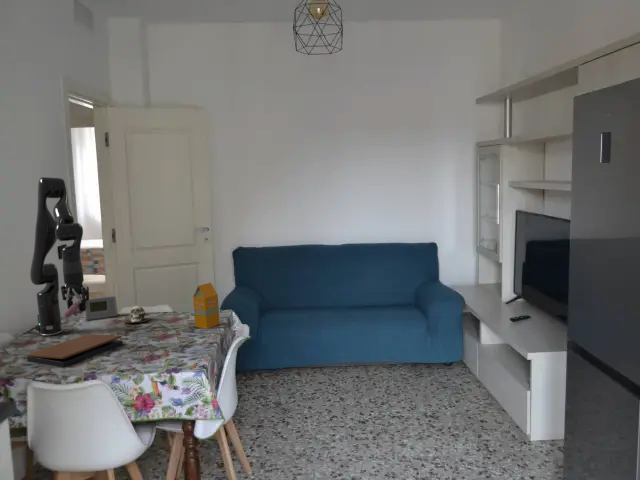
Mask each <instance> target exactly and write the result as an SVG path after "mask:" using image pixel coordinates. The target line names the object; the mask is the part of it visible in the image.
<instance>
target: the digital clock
mask: <svg viewBox="0 0 640 480" xmlns="http://www.w3.org/2000/svg"><path fill="white" fill-rule="evenodd" d="M86 302H87V303H88V306H87V308H86V310H85V311H83V315H84V320H85V321H91V320H92V321H95V320H103V319H110V318H114V317H118V315H119V312H118V304H117V303H118V302H117V296H116V295H106V296H98V297H89V300H88V301H86Z"/></svg>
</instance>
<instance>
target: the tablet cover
mask: <svg viewBox="0 0 640 480" xmlns="http://www.w3.org/2000/svg"><path fill="white" fill-rule="evenodd" d="M122 337H123V335H118V334H117V335H115V334H92V333H91V334H89V333H87V334H84V335H80V336H78V337H75V338H72V339H69V340H66V341H63V342H59V343H56V344H54V345H50V346H48V347H45V348H42V349H40V350H36V351H33V352H30V353H28V354H27V355H26V357H42V358H55V359H65V358H67V357H70V356H73V355H76V354H78V353H81V352H84V351H86V350H89V349H92V348H94V347H97V346H100V345H103V344H105V343H108V342H111V341H113V340H120V339H122Z"/></svg>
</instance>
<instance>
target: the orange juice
mask: <svg viewBox="0 0 640 480" xmlns="http://www.w3.org/2000/svg"><path fill="white" fill-rule="evenodd" d="M192 300H193V301H192V302H193V315H194V327H195V328H199V329H210V328H212V327H216V326H218V325H221V323H220V307H219V294H218V293H217V291H216V289H215V288H214V286H213V284H212V282H208V283H204V284H201V285H200V284H199V285H198V286H197V287H196V290H195V292H194V294H193V296H192Z"/></svg>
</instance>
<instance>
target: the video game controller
mask: <svg viewBox="0 0 640 480" xmlns="http://www.w3.org/2000/svg"><path fill="white" fill-rule="evenodd" d="M79 303H80V302H79V300H77V301H75V302H74V303H73V305H72V306H71V307H70V308H69V309H68V308H67V310H65V312H64V317H65V318H69V317H72V315H73V316H74V317H76V316H78V315H79V314H80V315H81V314H83V312H81V311H80V304H79ZM85 304H86V308H87V306H88V303H87V302H85Z"/></svg>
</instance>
